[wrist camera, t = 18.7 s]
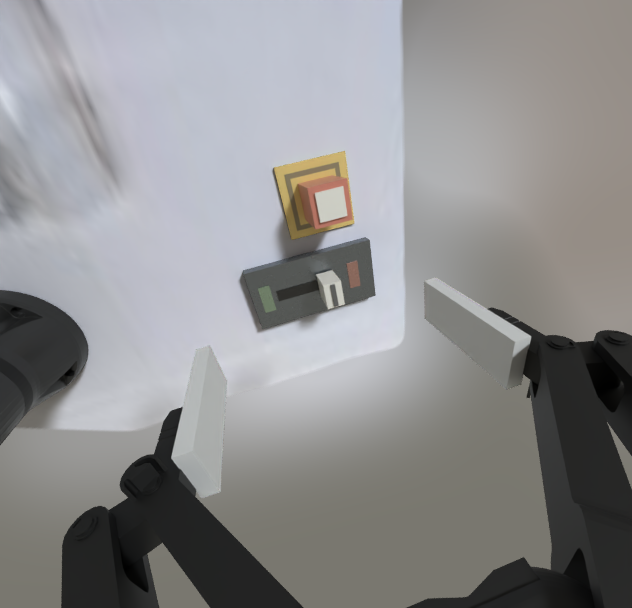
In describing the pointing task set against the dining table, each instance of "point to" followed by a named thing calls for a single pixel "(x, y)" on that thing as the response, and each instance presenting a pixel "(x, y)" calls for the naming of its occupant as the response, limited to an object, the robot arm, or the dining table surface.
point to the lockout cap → (326, 201)
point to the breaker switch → (330, 289)
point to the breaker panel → (309, 281)
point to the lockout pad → (301, 173)
